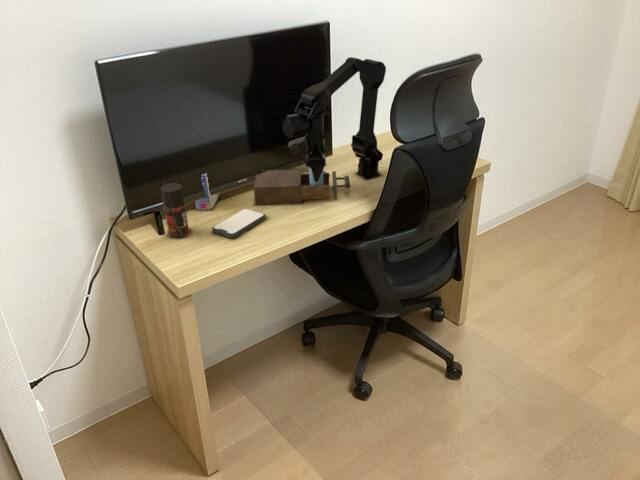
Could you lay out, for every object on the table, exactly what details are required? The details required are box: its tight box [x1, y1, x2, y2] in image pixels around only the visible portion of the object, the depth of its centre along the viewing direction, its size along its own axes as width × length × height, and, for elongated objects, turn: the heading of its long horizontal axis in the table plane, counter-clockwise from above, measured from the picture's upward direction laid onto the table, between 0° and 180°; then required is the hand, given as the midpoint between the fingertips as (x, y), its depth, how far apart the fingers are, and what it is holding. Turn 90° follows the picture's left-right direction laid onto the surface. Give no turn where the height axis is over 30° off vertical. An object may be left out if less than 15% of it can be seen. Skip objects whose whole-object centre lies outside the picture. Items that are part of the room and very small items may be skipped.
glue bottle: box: [308, 167, 324, 186], centre depth 188 cm, size 5×5×12 cm
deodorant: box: [160, 182, 190, 239], centre depth 168 cm, size 6×6×15 cm
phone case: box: [211, 208, 266, 239], centre depth 175 cm, size 9×2×16 cm
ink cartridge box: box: [194, 173, 220, 211], centre depth 185 cm, size 10×6×14 cm, turn 174°
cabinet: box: [253, 169, 302, 206], centre depth 191 cm, size 15×13×6 cm
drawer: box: [301, 170, 351, 200], centre depth 191 cm, size 18×12×5 cm
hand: (316, 176), depth 189 cm, fingers open, 8 cm apart
